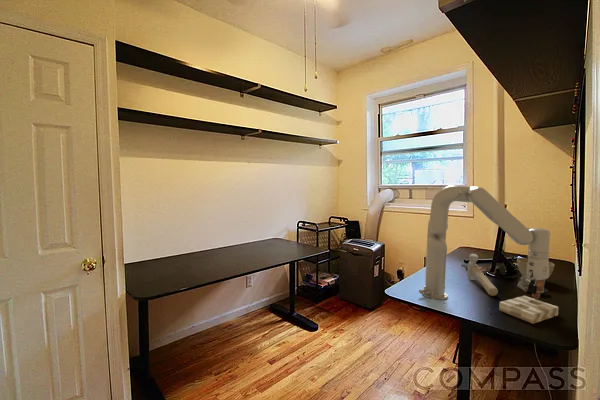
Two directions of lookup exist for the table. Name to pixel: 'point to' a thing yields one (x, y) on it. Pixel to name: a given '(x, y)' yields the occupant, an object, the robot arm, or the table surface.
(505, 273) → the table surface
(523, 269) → the white bowl
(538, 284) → the peg
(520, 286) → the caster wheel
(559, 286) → the table surface
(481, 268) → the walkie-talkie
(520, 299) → the board
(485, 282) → the hammer
